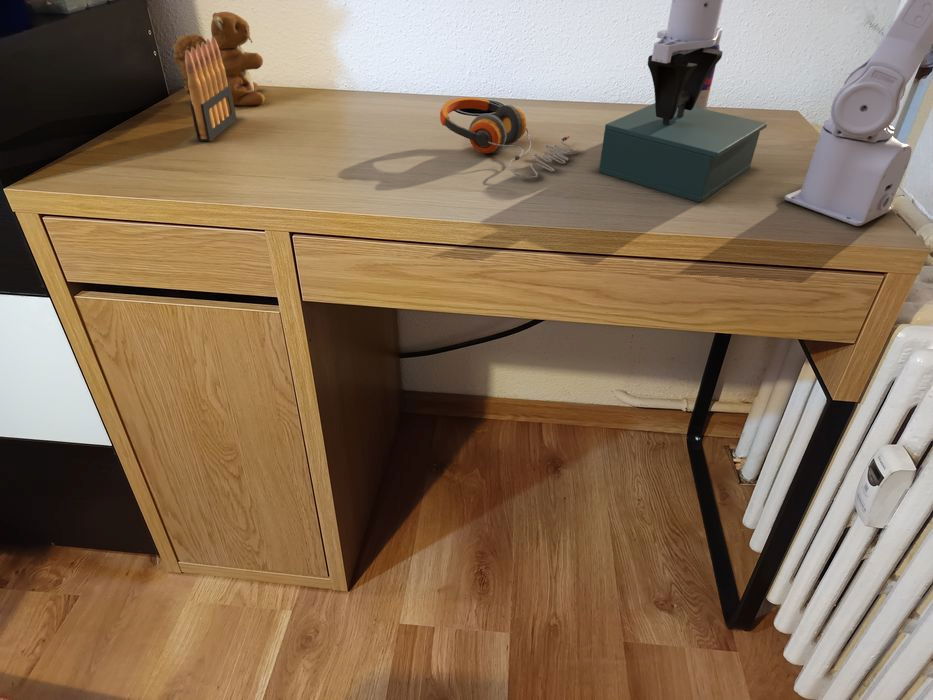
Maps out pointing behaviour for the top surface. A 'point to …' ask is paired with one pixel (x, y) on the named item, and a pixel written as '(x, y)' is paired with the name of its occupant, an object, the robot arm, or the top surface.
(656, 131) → the bin lid
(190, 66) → the ammunition clip
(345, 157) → the top surface
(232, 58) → the stuffed squirrel
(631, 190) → the top surface
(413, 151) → the top surface
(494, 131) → the headphones
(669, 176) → the bin
